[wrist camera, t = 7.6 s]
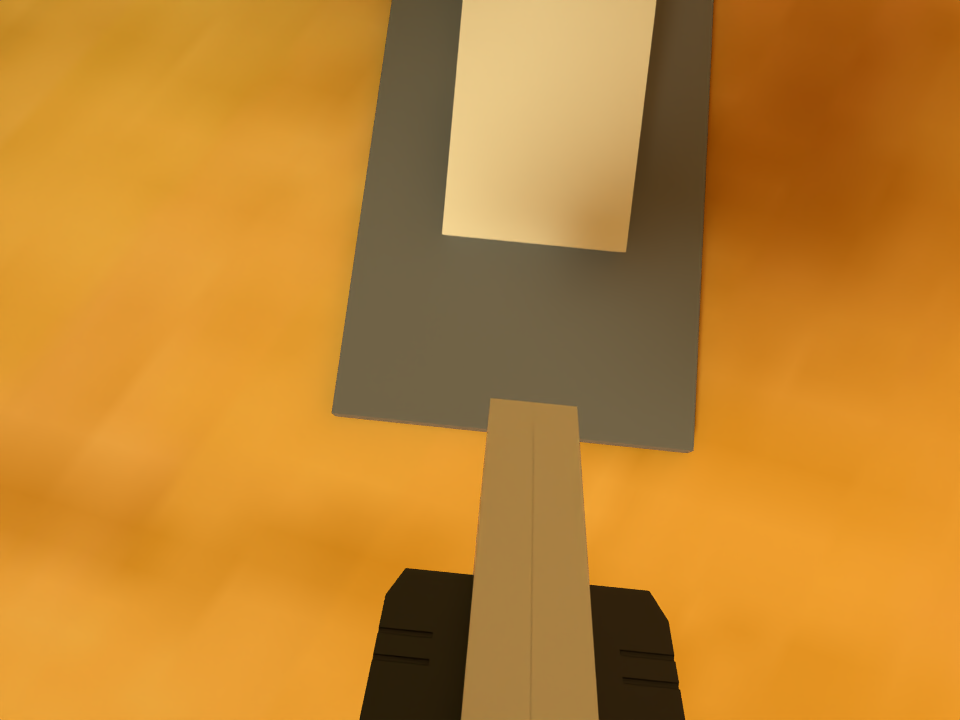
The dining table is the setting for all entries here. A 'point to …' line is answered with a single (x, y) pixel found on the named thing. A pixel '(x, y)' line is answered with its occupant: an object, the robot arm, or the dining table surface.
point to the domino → (547, 121)
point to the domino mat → (528, 262)
